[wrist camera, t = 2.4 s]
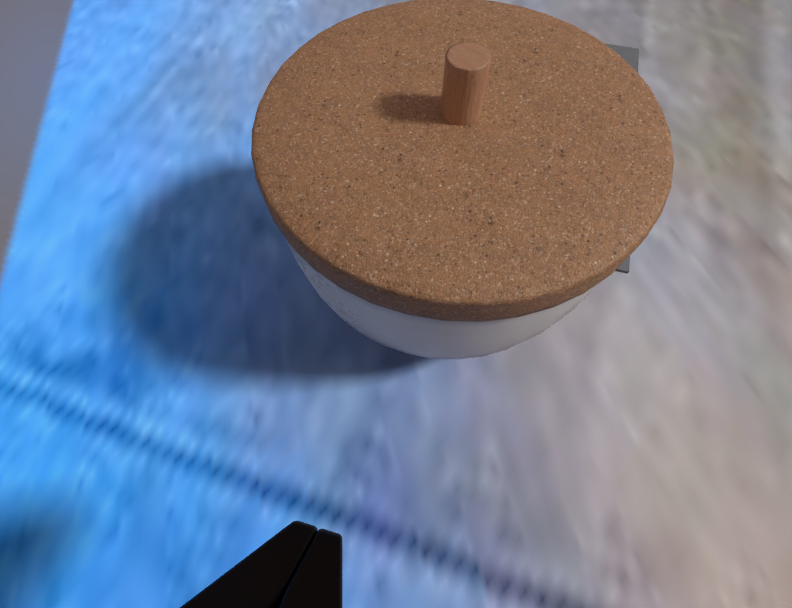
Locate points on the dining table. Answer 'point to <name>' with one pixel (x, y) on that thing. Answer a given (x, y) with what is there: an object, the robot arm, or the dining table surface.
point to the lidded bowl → (459, 170)
